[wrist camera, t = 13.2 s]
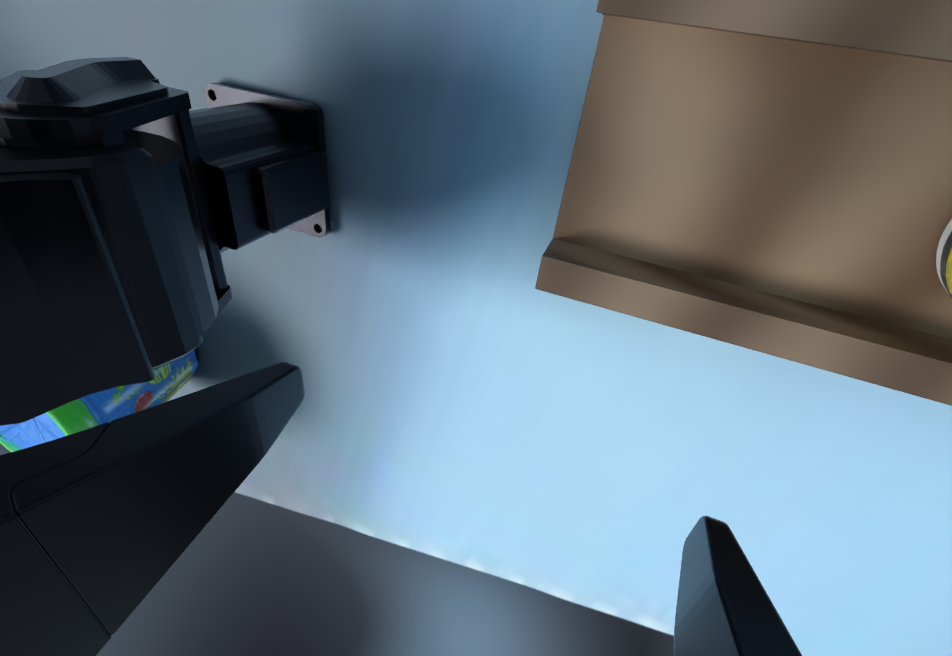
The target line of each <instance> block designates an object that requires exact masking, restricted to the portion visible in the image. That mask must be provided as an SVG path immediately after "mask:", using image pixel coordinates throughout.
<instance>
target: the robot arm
mask: <svg viewBox="0 0 952 656" xmlns="http://www.w3.org/2000/svg"><path fill="white" fill-rule="evenodd" d="M215 93H216V96H217V97H216V96H215ZM204 96H205V101H206V106H207V108H206V109H200V110H193V111H189V109H191V104H190V99H189V94H188V92H187V91H183V90H179V89H174V88H169V87H166V86H164V85H161V84H160V83H159V79H156V78H155V77H154V76H153V75H152V74H151V72H150V71H149V70H148V69H147V67H146V66H145V65H144V64H143V62H142V61H141V60H138V59H134V58H129V57H118V58H91V59H78V60H71V61H67V62H63V63H60V64H57V65H54V66H50V67H47V68H44V69H41V70H28V71H18V72H16V73H14V74H12V75H10V76H9V77H7V78H5V79H3V80H1V81H0V426H2V425H10V424H18V423H23V422H25V421H28V420H30V419H33V418H35V417H37V416H39V415H42V414H44V413H46V412H49V411H51V410H53V409H55V408H58V407H60V406H62V405H64V404H67V403H69V402H72V401H74V400H77V399H79V398H82V397H84V396H87V395H90V394H93V393H97V392H100V391H104V390H107V389H111V388H115V387H118V386H125V385H131V384H138V383H144V382H149V381H152V380H153V379H154V378H155V375H154V372H153V370H154V369H157V368H160V367H162V366H164V365H166V364H169V363H171V362H172V361H174V360H176V359H178V358H181V357H183V356H185V355H186V354H188V353H189V352H191V351H192V350H194V349H196V348H197V347H198V346H199V345H201V343H202V342H203V338H202V335H203V334H204V333H205V332H206V331H207V329H208V328H209V327H210V326H211V325H212V324H213V322H214V321H215V320H216V317H217V315H218V313H219V312H220V311H221V310H222V309H223V308H224V306H225V305H226V304H227V303H228V302H229V301H230V299H231V298H232V293H231V289H230V286H229V285H227V282H226V277H225V272H224V268H223V263H222V259H221V254H220V253H222V252H224V251H226V250H228V249H234V250H237V249H239V248H241V247H243V246H245V245H247V244H249V243H251V242H253V241H255V240H257V239H259V238H262V237H264V236H266V235H268V234H270V233H276V232H278V231H281V230H283V229H285V228H288V229H291V230H295V231H298V232H302V233H305V234H309V235H312V236H316V237H324V236H325V235H327V234H329V232H330V214H329V190H328V175H327V160H326V153H325V138H324V123H323V114H322V111H321V109H320V108H319V107H318V106H317V105H316V104H314V103H310V102H305V101H300V100H295V99H291V98H286V97H281V96H276V95H272V94H267V93H262V92H258V91H253V90H248V89H243V88H239V87H234V86H229V85H224V84H220V83H210V84H206V85H205V87H204ZM309 111H311V113H312V114H313V120H312V119H311V118H310V115H309ZM318 224H319V225H320V226H321V228H322V230H321V229H320V228H319V226H318ZM303 398H304V384H303V376H302V370H301V369H300V367H298V366H296V365H293V364H290V363H287V362H282V363H278V364H275V365H273V366H270V367H267V368H264V369H261V370H258V371H255V372H252V373H249V374H246V375H243V376H241V377H238V378H235V379H232V380H229V381H226V382H223V383H220V384H217V385H214V386H211V387H208V388H206V389H203V390H200V391H197V392H194V393H191V394H188V395H185V396H182V397H179V398H176V399H174V400H171V401H168V402H165V403H162V404H159V405H156V406H153V407H150V408H147V409H144V410H141V411H139V412H136V413H133V414H130V415H127V416H124V417H121V418H118V419H115V420H113V421H111V422H110V423H109V422H106V423H103V424H100V425H97V426H95V427H92V428H89V429H86V430H83V431H80V432H77V433H74V434H70V435H67V436H64V437H61V438H58V439H55V440H52V441H48V442H45V443H42V444H38V445H35V446H32V447H28V448H25V449H21V450H18V451H14V452H11V453H7V454H4V455H0V656H96V655H97V654H98V653H99V651H100V650H101V649H102V648H103V647H104V646H105V644H106V643H107V642H108V641H109V640H110V638H111V635H113V634H114V633H115V632H116V631H117V630H118V629H119V627H120V626H121V625H122V624H123V623H124V622H125V620H126V619H127V618H128V617H129V616H130V614H131V613H132V612H133V611H134V610H135V609H136V607H137V606H138V605H139V604H140V603H141V601H142V600H143V599H144V598H145V597H146V596H147V594H148V593H149V592H150V591H151V590H152V588H153V587H154V586H155V585H156V584H157V582H158V581H159V580H160V579H161V578H162V576H163V575H164V574H165V573H166V572H167V571H168V570H169V568H170V567H171V566H172V565H173V564H174V562H175V561H176V560H177V559H178V558H179V557H180V555H181V554H182V553H183V552H184V551H185V549H186V548H187V547H188V546H189V545H190V544H191V542H192V541H193V540H194V539H195V538H196V536H197V535H198V534H199V533H200V532H201V530H202V529H203V528H204V527H205V526H206V524H207V523H208V522H209V521H210V520H211V519H212V518H213V516H214V515H215V514H216V513H217V511H218V510H219V509H220V508H221V507H222V506H223V505H224V503H225V502H226V501H227V500H228V498H229V497H230V496H231V495H232V494H233V493H234V492H235V490H236V489H237V488H238V487H239V486H240V484H241V483H242V482H243V481H244V480H245V479H246V477H247V476H248V475H249V474H250V473H251V471H252V470H253V469H254V468H255V467H256V466H257V464H258V463H259V462H260V461H261V459H262V458H263V457H264V456H265V455H266V453H267V452H268V450H269V449H270V448H271V446H272V445H273V443H274V442H275V440H276V439H277V438H278V436H279V435H280V433H281V432H282V430H283V429H284V427H285V426H286V424H287V423H288V422H289V420H290V419H291V417H292V416H293V414H294V413H295V411H296V410H297V408H298V407H299V406H300V404H301V402H302V400H303ZM674 656H802V655H801V653H800V651H799V649H798V648H797V646H796V644H795V642H794V640H793V639H792V637H791V635H790V633H789V632H788V630H787V628H786V626H785V625H784V623H783V621H782V619H781V618H780V616H779V614H778V612H777V611H776V609H775V607H774V605H773V603H772V602H771V600H770V598H769V596H768V595H767V593H766V591H765V589H764V588H763V586H762V584H761V582H760V581H759V579H758V577H757V575H756V574H755V572H754V570H753V568H752V566H751V565H750V563H749V561H748V559H747V558H746V556H745V554H744V552H743V551H742V549H741V547H740V545H739V544H738V542H737V540H736V538H735V537H734V535H733V533H732V531H731V529H730V528H729V526H728V525H727V524H726V523H724V522H722V521H720V520H717V519H714V518H711V517H709V516H703V517H701V518H700V519H699V521H698V522H697V524H696V525H695V526H694V528H693V529H692V531H691V532H690V534H689V535H688V537H687V538H686V540H685V543H684V547H683V554H682V563H681V572H680V581H679V590H678V599H677V608H676V617H675V628H674Z"/></svg>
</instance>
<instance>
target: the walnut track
mask: <svg viewBox="0 0 952 656" xmlns="http://www.w3.org/2000/svg"><path fill="white" fill-rule="evenodd" d="M596 12H598V13H601V14H604V19H603V24H602V28H601V32H600V37H599V41H598V45H597V50H596V54H595V58H594V63H593V67H592V71H591V76H590V80H589V84H588V89H587V93H586V97H585V102H584V106H583V110H582V115H581V119H580V123H579V128H578V132H577V136H576V141H575V145H574V150H573V154H572V158H571V163H570V167H569V171H568V176H567V180H566V184H565V189H564V193H563V197H562V202H561V206H560V210H559V215H558V219H557V223H556V228H555V232H554V236H553V239H552V241H551V243H550V244H549V246H548V247H547V249H546V251H545V252H544V254H543V256H542V260H541V264H540V269H539V273H538V278H537V282H536V287H535V289H538V290H542V291H545V292H549V293H553V294H556V295H560V296H563V297H567V298H570V299H574V300H577V301H581V302H585V303H588V304H592V305H595V306H599V307H602V308H606V309H610V310H613V311H617V312H620V313H624V314H627V315H631V316H634V317H638V318H642V319H645V320H649V321H652V322H656V323H659V324H663V325H666V326H670V327H674V328H677V329H681V330H684V331H688V332H691V333H695V334H699V335H702V336H706V337H709V338H713V339H716V340H720V341H723V342H727V343H731V344H734V345H738V346H741V347H745V348H748V349H752V350H756V351H759V352H763V353H766V354H770V355H773V356H777V357H780V358H784V359H788V360H791V361H795V362H798V363H802V364H805V365H809V366H813V367H816V368H820V369H823V370H827V371H830V372H834V373H837V374H841V375H845V376H848V377H852V378H855V379H859V380H862V381H866V382H869V383H873V384H877V385H880V386H884V387H887V388H891V389H894V390H898V391H902V392H905V393H909V394H912V395H916V396H919V397H923V398H926V399H930V400H934V401H937V402H941V403H944V404H948V405H951V406H952V297H951V296H950V295H949V293H948V292H947V291H946V290H945V288H944V286H943V285H942V283H941V281H940V279H939V276H938V273H937V268H936V254H937V248H938V244H939V241H940V238H941V236H942V234H943V232H944V230H945V228H946V227H947V225H948V223H949V222H950V220H951V219H952V0H599V2H598V7H597V11H596Z"/></svg>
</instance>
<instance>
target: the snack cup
mask: <svg viewBox="0 0 952 656" xmlns="http://www.w3.org/2000/svg"><path fill="white" fill-rule="evenodd" d="M197 367H198V360H197V359H196V356H195V350H192V351H191V352H189V353H188V354H186V355H185V356H183V357H181V358H178V359H176V360H174V361H172V362H171V363H169V364H166V365H164V366H162V367H160V368H157V369H154V370H153V372H154V375H155V378H154V379H153V380H152V381H149V382H144V383H138V384H131V385H125V386H118V387H115V388H111V389H107V390H104V391H100V392H97V393H93V394H90V395H87V396H84V397H82V398H79V399H77V400H74V401H72V402H69V403H67V404H64V405H62V406H60V407H58V408H55V409H53V410H51V411H49V412H46V413H44V414H42V415H39V416H37V417H35V418H33V419H30V420H28V421H25V422H23V423H18V424H10V425H2V426H0V443H1V444H2V445H3V446H5V447H6V448H7V449H8V450H9V451H11V452H14V451H18V450H21V449H25V448H28V447H32V446H35V445H38V444H42V443H45V442H48V441H52V440H55V439H58V438H61V437H64V436H67V435H70V434H74V433H77V432H80V431H83V430H86V429H89V428H92V427H95V426H97V425H100V424H103V423H106V422H109V423H110V422H111V421H113V420H115V419H118V418H121V417H124V416H127V415H130V414H133V413H136V412H139V411H141V410H144V409H147V408H150V407H153V406H156V405H159V404H162V403H165V402H167V401H168V400H169V399H170V398H171V397H172V396H173V395H174V394H175V393H176V392H177V391H178V390H179V389H180V388H181V387H182V386H184V385H185V384H186V383H187V382H188V381H189V380H190V378H191V376H192V375H193V373H194V371H195V370H196V368H197Z"/></svg>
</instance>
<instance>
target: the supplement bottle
mask: <svg viewBox="0 0 952 656" xmlns="http://www.w3.org/2000/svg"><path fill="white" fill-rule="evenodd" d="M936 268H937V273H938V276H939V279H940V281H941V283H942V285H943V286H944V288H945V290H946V291H947V292H948V293H949V295H950V296H951V297H952V219H951V220H950V222H949V223H948V225H947V227H946V228H945V230H944V232H943V234H942V236H941V238H940V241H939V244H938V248H937V254H936Z"/></svg>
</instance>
